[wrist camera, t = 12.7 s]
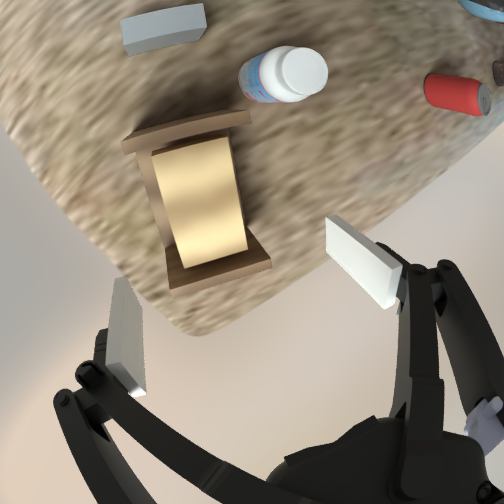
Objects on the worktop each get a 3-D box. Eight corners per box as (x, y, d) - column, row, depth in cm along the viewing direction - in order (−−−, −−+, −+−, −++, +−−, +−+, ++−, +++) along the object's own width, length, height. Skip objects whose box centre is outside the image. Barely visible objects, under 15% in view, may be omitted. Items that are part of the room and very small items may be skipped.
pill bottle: (240, 105, 30) (277, 104, 21) (234, 58, 27) (269, 38, 18) (286, 100, 32) (337, 102, 22) (281, 56, 28) (331, 42, 19)
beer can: (427, 110, 38) (480, 123, 28) (418, 77, 34) (474, 84, 25) (444, 102, 38) (494, 113, 28) (436, 70, 35) (489, 77, 25)
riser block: (126, 35, 22) (120, 20, 17) (194, 19, 23) (202, 2, 18) (129, 56, 23) (123, 45, 18) (198, 40, 25) (207, 27, 20)
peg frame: (131, 132, 28) (120, 141, 20) (223, 109, 30) (249, 110, 22) (167, 252, 37) (173, 298, 28) (245, 229, 39) (272, 267, 30)
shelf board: (239, 235, 33) (247, 249, 30) (181, 252, 32) (184, 268, 29) (219, 133, 27) (227, 136, 24) (151, 151, 25) (151, 156, 22)
